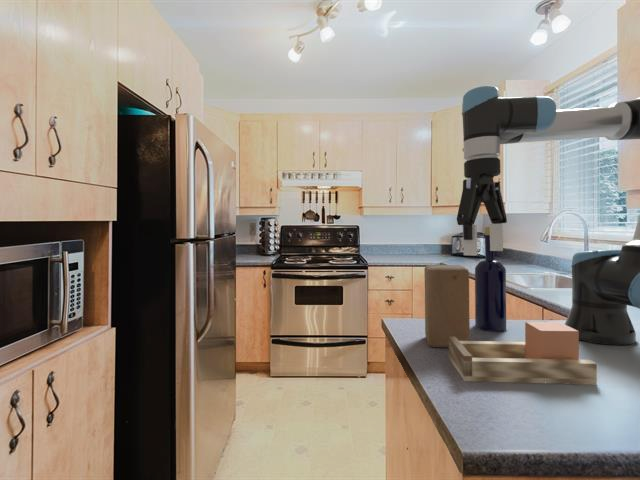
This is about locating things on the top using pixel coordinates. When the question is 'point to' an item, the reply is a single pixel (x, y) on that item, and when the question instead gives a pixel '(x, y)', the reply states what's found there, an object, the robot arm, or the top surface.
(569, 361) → the wooden tray
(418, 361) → the top surface
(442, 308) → the wooden block
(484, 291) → the bottle
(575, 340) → the terracotta block
